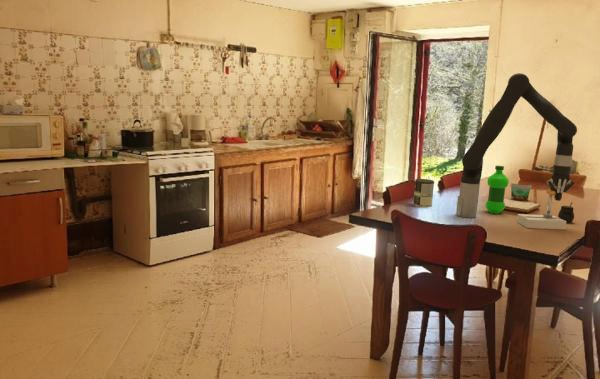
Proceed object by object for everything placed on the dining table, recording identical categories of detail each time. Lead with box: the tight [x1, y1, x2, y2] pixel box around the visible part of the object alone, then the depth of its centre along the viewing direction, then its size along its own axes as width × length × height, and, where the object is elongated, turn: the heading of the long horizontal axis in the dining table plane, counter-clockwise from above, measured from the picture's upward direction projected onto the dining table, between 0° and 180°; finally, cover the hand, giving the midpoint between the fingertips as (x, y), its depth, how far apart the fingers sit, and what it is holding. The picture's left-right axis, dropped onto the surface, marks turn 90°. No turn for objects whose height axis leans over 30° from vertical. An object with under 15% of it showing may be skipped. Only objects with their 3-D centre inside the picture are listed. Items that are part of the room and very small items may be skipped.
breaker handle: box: [542, 188, 555, 218], centre depth 249 cm, size 3×4×13 cm
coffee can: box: [412, 178, 435, 208], centre depth 286 cm, size 10×10×14 cm
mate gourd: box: [557, 201, 575, 224], centre depth 261 cm, size 7×8×10 cm
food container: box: [510, 182, 533, 202], centre depth 315 cm, size 12×6×10 cm, turn 76°
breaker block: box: [516, 213, 567, 230], centre depth 250 cm, size 18×12×4 cm, turn 91°
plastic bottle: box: [485, 165, 510, 215], centre depth 275 cm, size 10×10×25 cm
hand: (557, 200), depth 249 cm, fingers closed
